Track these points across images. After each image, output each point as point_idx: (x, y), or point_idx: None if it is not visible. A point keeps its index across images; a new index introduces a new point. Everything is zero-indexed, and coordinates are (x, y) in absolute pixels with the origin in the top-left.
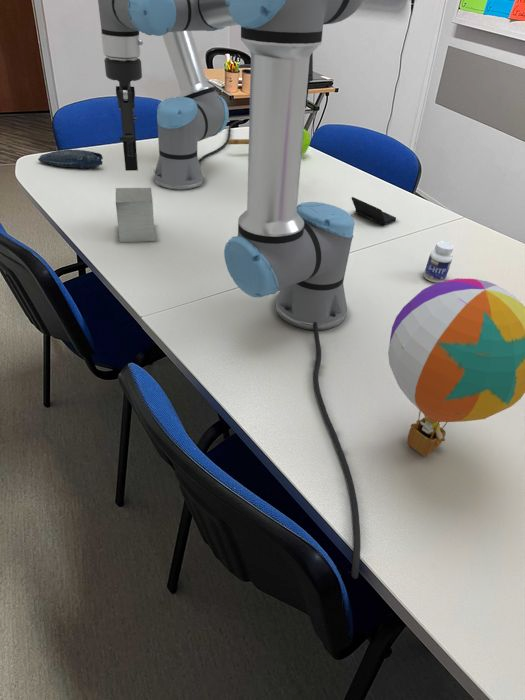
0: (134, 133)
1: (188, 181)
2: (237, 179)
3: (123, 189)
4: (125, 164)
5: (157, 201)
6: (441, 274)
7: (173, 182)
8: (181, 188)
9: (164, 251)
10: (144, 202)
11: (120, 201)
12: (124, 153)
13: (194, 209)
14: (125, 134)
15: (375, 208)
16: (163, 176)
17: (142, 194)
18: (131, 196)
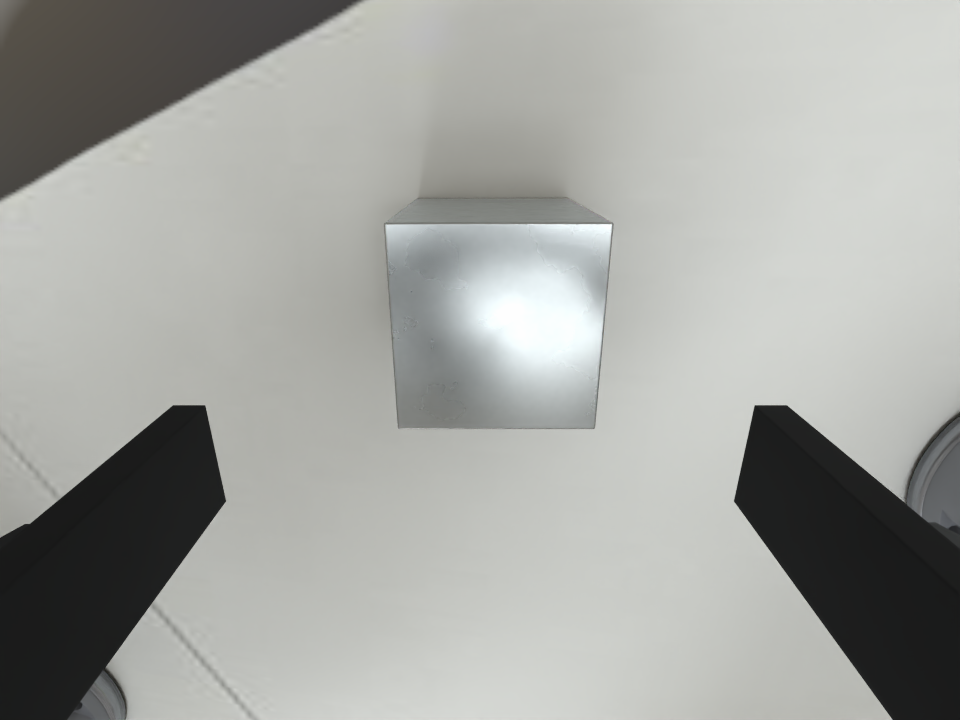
0: (835, 631)
1: None
2: None
3: (580, 273)
4: (139, 438)
5: (819, 373)
6: None
7: (955, 466)
8: (915, 481)
9: (339, 373)
10: (396, 385)
11: (388, 253)
12: (52, 512)
13: (699, 505)
14: (855, 527)
15: None
16: None
17: (493, 382)
18: (465, 320)
